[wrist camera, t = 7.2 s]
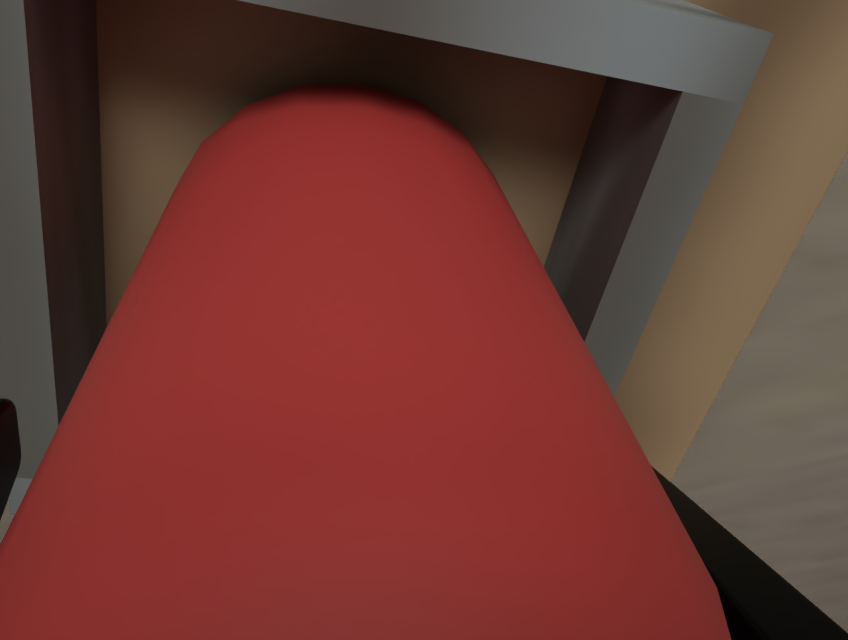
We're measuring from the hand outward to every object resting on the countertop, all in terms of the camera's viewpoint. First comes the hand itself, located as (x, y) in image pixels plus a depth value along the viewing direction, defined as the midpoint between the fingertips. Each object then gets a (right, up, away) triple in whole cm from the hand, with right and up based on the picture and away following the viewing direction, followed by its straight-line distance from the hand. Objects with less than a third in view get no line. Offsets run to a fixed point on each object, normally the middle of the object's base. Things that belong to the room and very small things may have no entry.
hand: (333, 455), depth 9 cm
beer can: (-1, +3, +6) cm, 7 cm away
